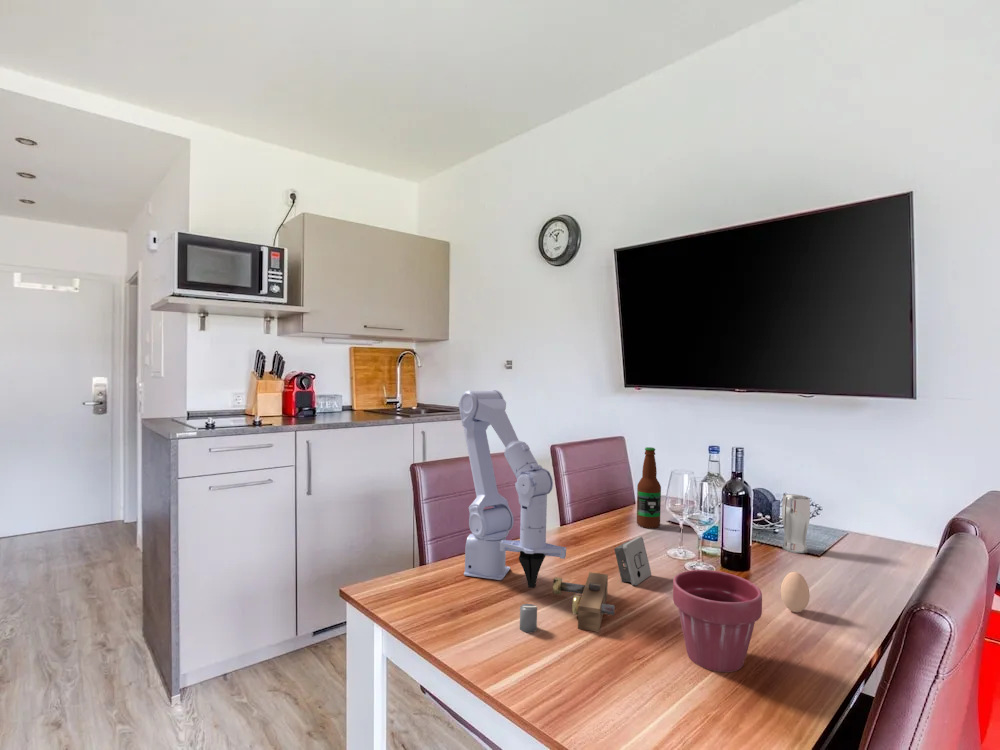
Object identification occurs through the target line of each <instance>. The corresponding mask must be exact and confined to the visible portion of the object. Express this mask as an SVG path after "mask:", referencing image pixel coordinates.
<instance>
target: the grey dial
mask: <svg viewBox="0 0 1000 750" xmlns="http://www.w3.org/2000/svg"><path fill="white" fill-rule="evenodd" d="M519 610H520V611H519V630H520V631H521V632H523V633H529V634H530V633H535V632H537V626H538V624H537V623H538V606H537V605H535V604H531V603H525V604H524V603H523V604H522V605H520V607H519Z"/></svg>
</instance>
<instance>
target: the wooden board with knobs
mask: <svg viewBox="0 0 1000 750" xmlns="http://www.w3.org/2000/svg"><path fill="white" fill-rule="evenodd" d="M608 575H609V574H607V573H600V572H591V571H589V573H588V576H587V578H586V581H585V584H584V585H585V588H584V591H583V594H581V596H582V597H581V600H580V603H579V606H578V614H577V629H580V630H585V631H592V632H598V633H599V632H600V629H601V626H602V620H603V615H604V614H603V613H601V605H602V604H606V602H607V597H608V586H609V584H608V581H609V579H608V578H609V577H608Z"/></svg>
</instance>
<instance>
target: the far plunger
mask: <svg viewBox="0 0 1000 750" xmlns="http://www.w3.org/2000/svg"><path fill="white" fill-rule="evenodd" d="M552 582H553V583H552V594H553V595H560V596H561V595H562V592H564V593H565V592H567V593H574V594H581V595H582V594H583V591H584V588H585V584H580V583H574V582H573V583H571V582H565V581H563V577H556V576H555V577H554V578H553V581H552Z"/></svg>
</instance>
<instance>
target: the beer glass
mask: <svg viewBox="0 0 1000 750" xmlns="http://www.w3.org/2000/svg"><path fill="white" fill-rule="evenodd" d="M781 505H782V506H781V516H782V518H781V519H782V524H783V530H784V539H783V544H782V549H783V550H784V551H786V552H788V553H789V552H790V553H793V554H794V553H795V554H807V553H808V547H807V535H808V534H807V533H808V529H809V524H810V519H811V501H810V497H808V496H807V495H806V496H805V495H802V494H795V493H787V494H783V495H782V504H781Z"/></svg>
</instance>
